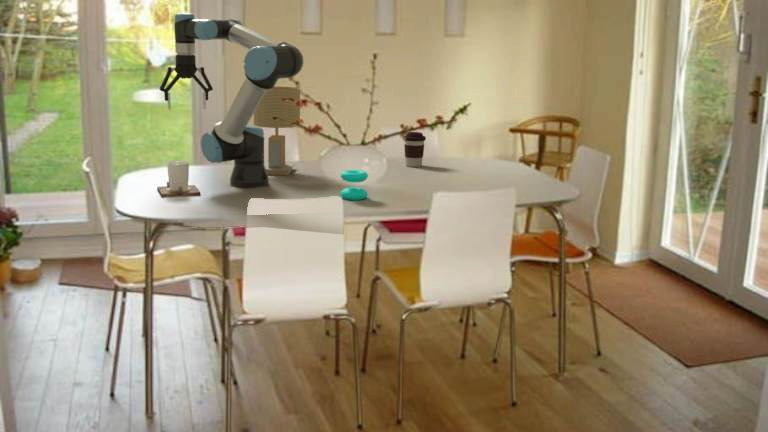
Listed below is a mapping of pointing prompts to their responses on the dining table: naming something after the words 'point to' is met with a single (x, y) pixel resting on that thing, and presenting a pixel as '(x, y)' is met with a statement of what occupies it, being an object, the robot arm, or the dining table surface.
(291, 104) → the desk lamp
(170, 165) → the white cup
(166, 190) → the pin board
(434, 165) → the dining table surface
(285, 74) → the robot arm
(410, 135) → the coffee cup
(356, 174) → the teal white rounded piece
